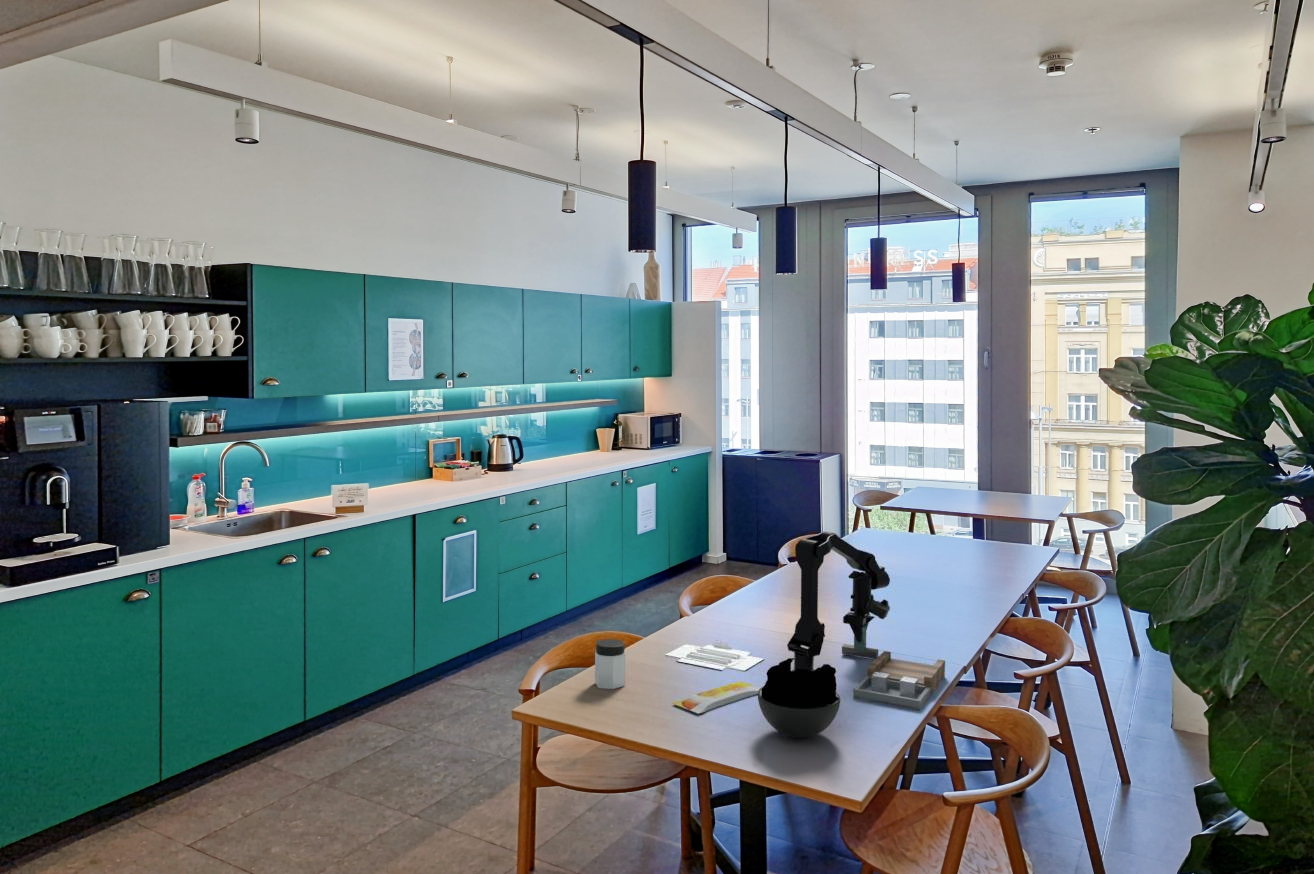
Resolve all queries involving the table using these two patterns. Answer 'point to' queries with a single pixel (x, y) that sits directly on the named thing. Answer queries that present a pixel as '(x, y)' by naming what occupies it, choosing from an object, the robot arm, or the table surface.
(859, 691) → the tray
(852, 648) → the rake tool
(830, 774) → the table surface
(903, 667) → the slot block
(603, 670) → the jar
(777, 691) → the coal bowl
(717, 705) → the food package
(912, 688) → the light grey cube
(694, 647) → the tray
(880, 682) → the white cube
